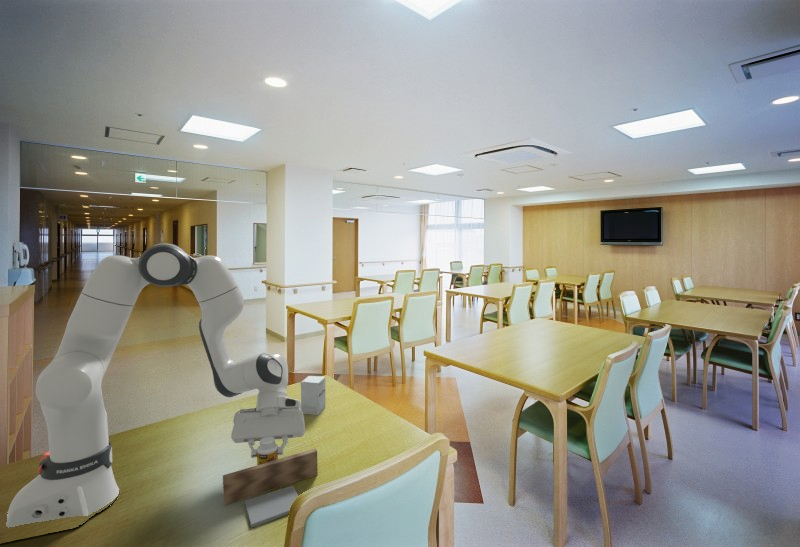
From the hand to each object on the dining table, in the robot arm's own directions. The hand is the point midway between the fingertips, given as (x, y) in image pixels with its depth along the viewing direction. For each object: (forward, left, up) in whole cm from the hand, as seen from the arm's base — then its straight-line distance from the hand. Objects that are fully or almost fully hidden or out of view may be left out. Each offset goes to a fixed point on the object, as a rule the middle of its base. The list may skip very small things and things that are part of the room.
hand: (267, 455), depth 104 cm
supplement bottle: (0, +1, -6) cm, 6 cm away
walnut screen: (0, -6, -6) cm, 8 cm away
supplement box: (+24, +34, -6) cm, 42 cm away
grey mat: (-1, -13, -6) cm, 15 cm away
